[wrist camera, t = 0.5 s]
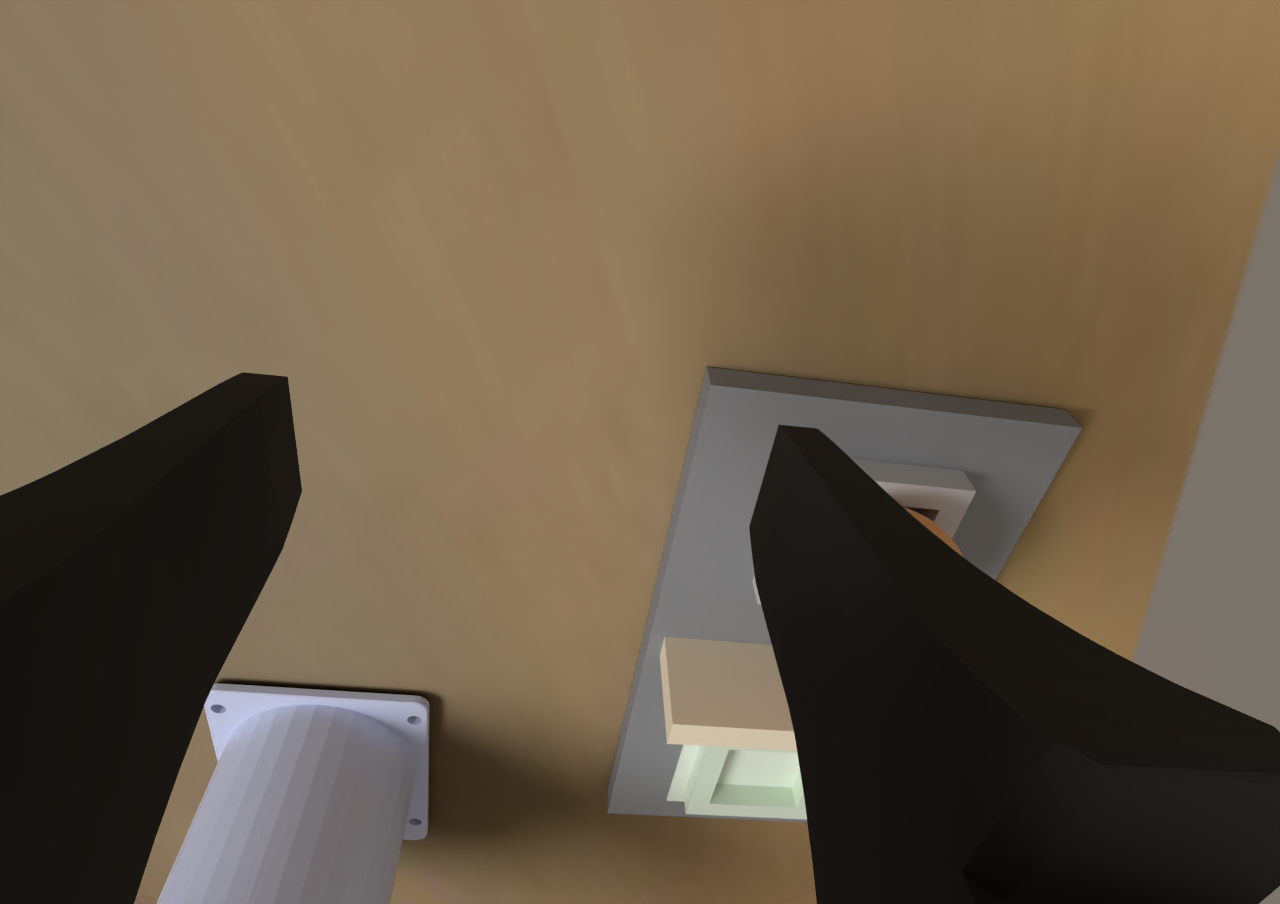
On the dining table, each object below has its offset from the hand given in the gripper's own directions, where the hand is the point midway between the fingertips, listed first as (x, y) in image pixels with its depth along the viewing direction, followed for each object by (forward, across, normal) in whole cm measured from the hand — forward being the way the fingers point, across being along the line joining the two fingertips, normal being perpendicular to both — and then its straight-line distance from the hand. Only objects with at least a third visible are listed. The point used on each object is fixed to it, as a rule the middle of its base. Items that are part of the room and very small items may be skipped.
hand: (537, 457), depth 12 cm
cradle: (+10, -10, +20) cm, 24 cm away
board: (+10, -10, +14) cm, 20 cm away
